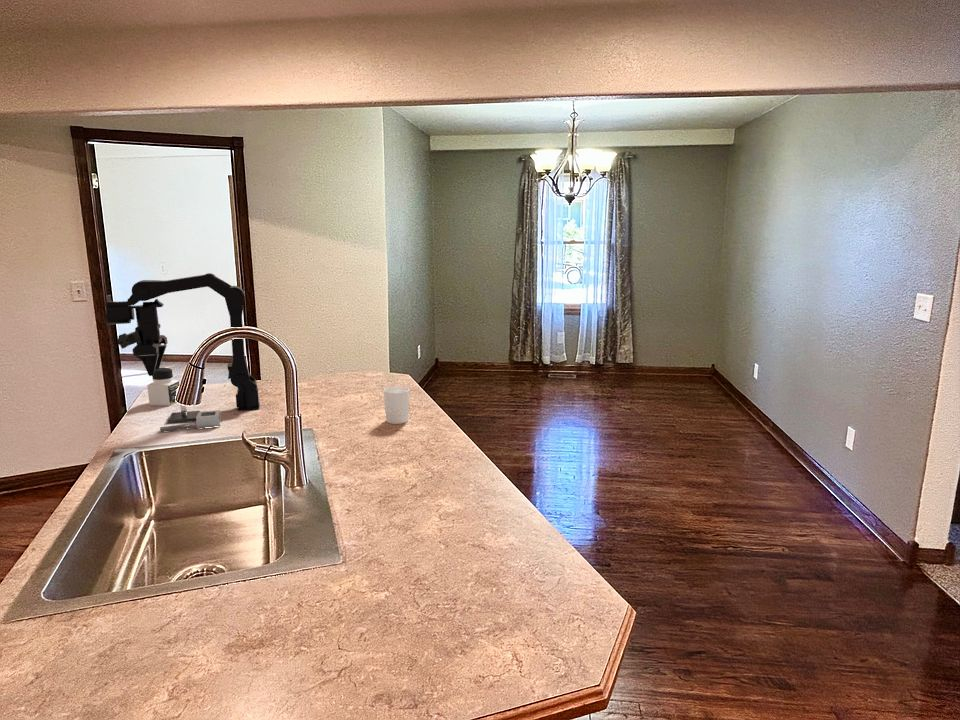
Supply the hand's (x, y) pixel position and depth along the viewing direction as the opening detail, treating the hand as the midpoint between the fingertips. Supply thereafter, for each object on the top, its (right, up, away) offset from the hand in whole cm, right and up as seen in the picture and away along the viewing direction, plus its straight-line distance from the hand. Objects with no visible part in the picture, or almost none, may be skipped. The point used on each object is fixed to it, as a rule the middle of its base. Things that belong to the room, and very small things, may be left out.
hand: (154, 372), depth 186 cm
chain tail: (+12, -16, -9) cm, 23 cm away
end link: (+20, -16, -6) cm, 26 cm away
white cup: (+75, -15, 0) cm, 77 cm away
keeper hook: (+9, -14, +1) cm, 17 cm away
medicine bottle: (-6, -11, +17) cm, 21 cm away
